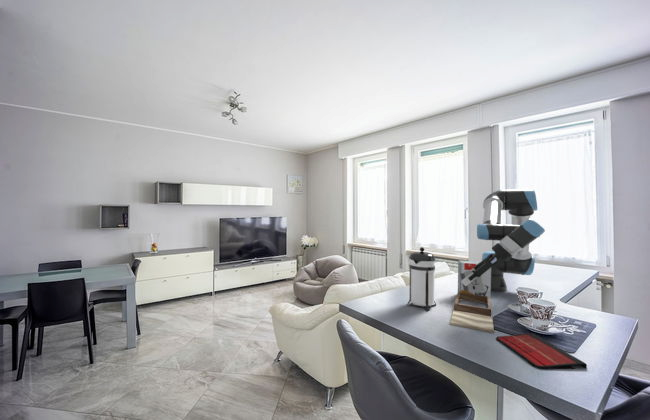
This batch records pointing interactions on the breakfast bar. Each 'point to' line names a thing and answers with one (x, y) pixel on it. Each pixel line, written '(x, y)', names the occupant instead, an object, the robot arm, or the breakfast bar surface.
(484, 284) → the hard drive box
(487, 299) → the holder frame
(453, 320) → the birch board
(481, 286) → the electrical switch
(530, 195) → the robot arm
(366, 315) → the breakfast bar surface
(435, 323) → the breakfast bar surface
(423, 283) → the coffee press
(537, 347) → the binder
